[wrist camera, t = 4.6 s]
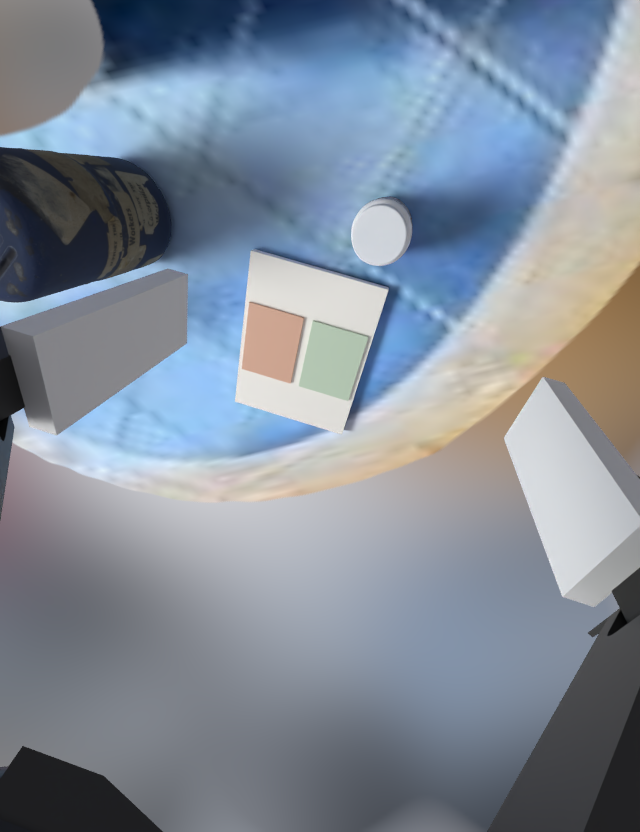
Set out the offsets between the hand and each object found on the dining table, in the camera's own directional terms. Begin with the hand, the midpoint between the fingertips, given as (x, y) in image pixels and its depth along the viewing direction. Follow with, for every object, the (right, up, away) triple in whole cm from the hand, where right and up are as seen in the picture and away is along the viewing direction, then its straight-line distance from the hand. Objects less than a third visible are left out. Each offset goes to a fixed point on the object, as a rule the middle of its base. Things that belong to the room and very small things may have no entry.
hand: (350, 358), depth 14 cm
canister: (-20, +19, +24) cm, 36 cm away
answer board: (-3, +5, +28) cm, 29 cm away
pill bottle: (+5, +15, +20) cm, 26 cm away
